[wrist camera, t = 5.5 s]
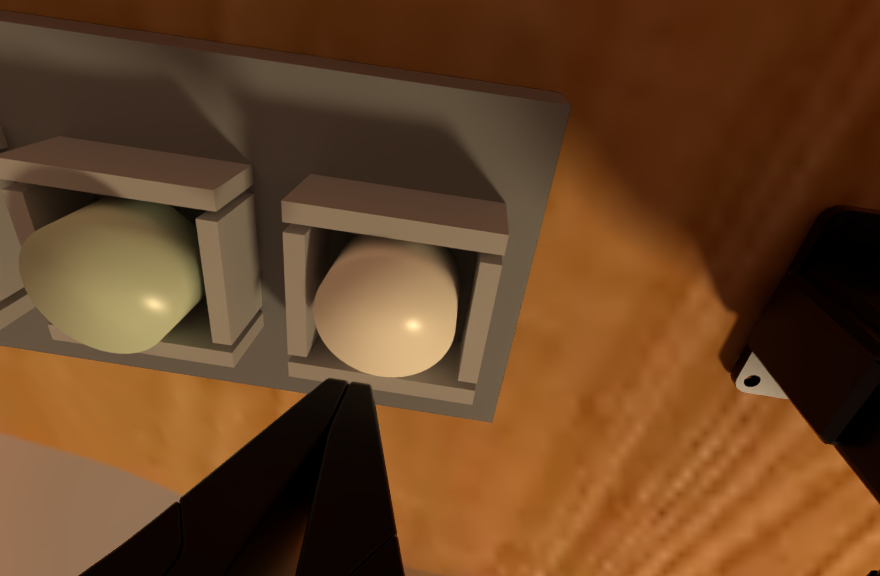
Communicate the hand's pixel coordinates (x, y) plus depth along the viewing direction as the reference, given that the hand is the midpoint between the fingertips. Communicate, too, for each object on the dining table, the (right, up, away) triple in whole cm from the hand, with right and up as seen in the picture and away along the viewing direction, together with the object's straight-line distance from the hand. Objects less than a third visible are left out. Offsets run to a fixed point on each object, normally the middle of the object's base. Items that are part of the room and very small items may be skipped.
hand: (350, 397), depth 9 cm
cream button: (+1, +2, +4) cm, 5 cm away
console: (-6, +4, +6) cm, 9 cm away
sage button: (-6, +3, +3) cm, 7 cm away
